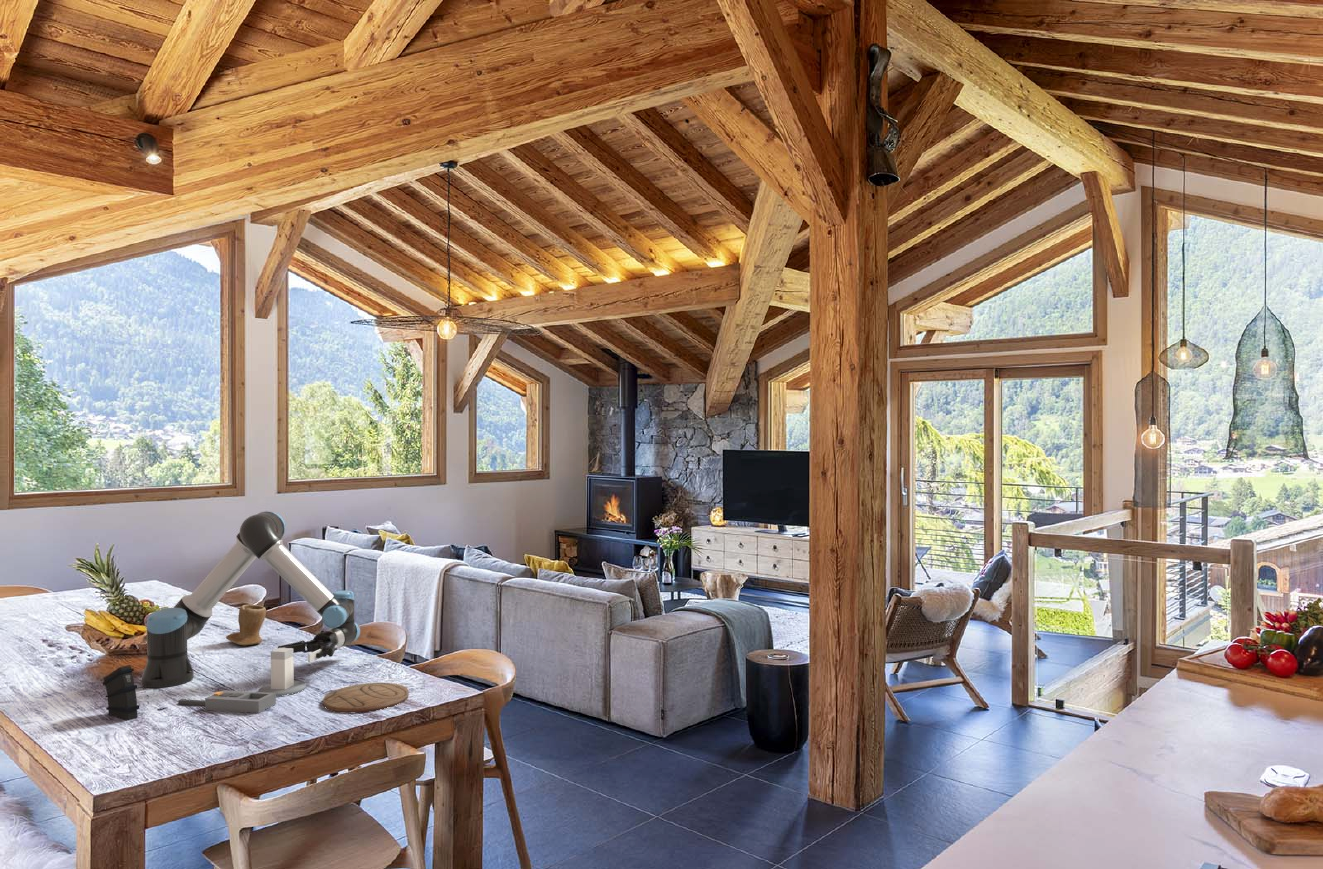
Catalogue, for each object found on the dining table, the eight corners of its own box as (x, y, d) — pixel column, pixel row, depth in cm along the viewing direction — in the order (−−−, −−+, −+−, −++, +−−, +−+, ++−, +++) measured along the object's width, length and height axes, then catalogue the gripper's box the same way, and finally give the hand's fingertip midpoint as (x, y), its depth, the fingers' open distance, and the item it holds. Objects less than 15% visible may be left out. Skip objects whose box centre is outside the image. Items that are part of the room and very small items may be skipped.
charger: (271, 688, 273) (270, 651, 273) (279, 684, 277) (279, 647, 277) (285, 689, 272) (284, 651, 272) (293, 685, 276) (293, 648, 276)
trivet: (348, 720, 246) (348, 713, 246) (308, 702, 263) (308, 696, 263) (424, 699, 265) (424, 693, 265) (382, 683, 282) (382, 678, 282)
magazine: (131, 717, 244) (118, 667, 248) (110, 729, 251) (98, 680, 254) (145, 713, 248) (132, 664, 251) (124, 725, 254) (112, 677, 257)
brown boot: (271, 643, 336) (270, 605, 336) (239, 649, 327) (238, 610, 327) (256, 637, 346) (255, 600, 346) (225, 642, 338) (224, 604, 338)
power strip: (170, 707, 258) (170, 694, 258) (189, 699, 266) (189, 686, 266) (258, 713, 252) (258, 699, 252) (275, 704, 260) (275, 691, 260)
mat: (250, 691, 274) (250, 688, 274) (293, 681, 284) (293, 678, 284) (270, 699, 265) (270, 696, 265) (314, 689, 275) (314, 686, 275)
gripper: (360, 653, 296) (324, 670, 275) (296, 650, 301) (256, 667, 280) (360, 631, 296) (324, 647, 275) (296, 629, 301) (256, 644, 280)
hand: (290, 657), depth 278 cm, fingers open, 13 cm apart
